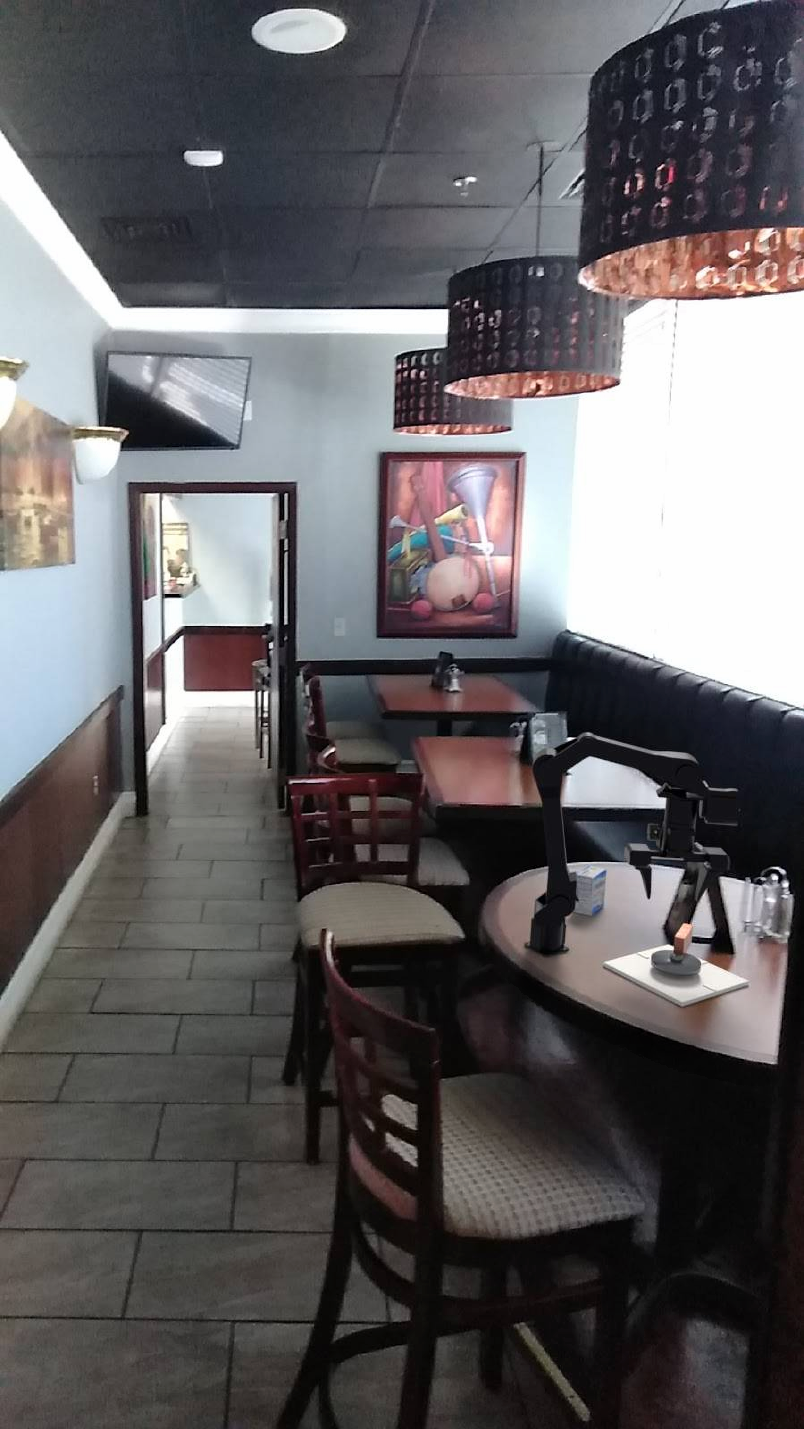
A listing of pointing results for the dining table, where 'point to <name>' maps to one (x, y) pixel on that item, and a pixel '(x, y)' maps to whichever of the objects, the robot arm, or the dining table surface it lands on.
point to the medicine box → (590, 890)
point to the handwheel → (678, 956)
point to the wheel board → (675, 978)
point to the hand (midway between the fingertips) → (672, 899)
